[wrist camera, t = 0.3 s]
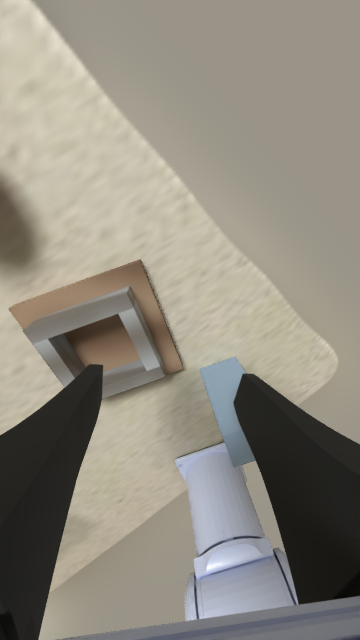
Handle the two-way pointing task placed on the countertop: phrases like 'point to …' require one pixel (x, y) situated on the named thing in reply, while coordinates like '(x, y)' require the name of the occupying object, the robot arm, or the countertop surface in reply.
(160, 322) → the socket board
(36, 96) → the countertop surface
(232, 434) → the peg
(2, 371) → the countertop surface
